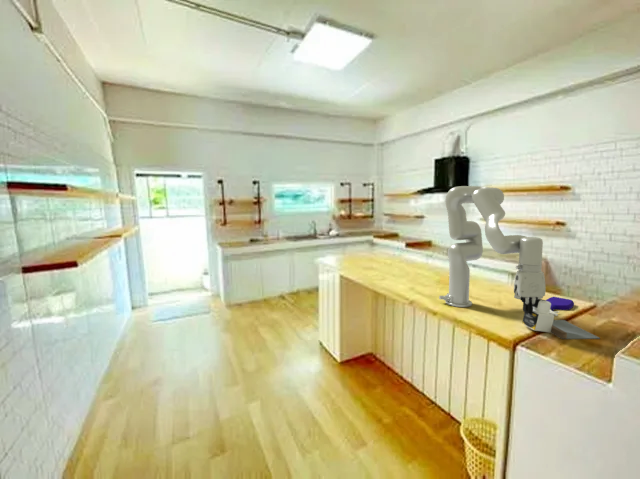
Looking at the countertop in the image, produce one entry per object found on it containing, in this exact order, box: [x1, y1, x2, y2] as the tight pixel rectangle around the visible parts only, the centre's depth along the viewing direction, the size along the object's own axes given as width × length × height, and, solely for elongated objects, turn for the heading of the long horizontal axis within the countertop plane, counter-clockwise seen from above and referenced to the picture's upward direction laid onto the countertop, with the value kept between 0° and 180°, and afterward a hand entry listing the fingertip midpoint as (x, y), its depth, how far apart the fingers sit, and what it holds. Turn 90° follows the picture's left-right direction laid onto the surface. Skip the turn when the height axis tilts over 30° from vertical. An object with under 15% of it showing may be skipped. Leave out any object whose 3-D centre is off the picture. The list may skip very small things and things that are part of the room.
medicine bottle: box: [521, 298, 555, 333], centre depth 126 cm, size 7×7×12 cm
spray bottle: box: [545, 296, 575, 317], centre depth 151 cm, size 3×11×24 cm
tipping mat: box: [550, 319, 601, 340], centre depth 126 cm, size 14×18×2 cm
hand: (527, 312), depth 126 cm, fingers closed
